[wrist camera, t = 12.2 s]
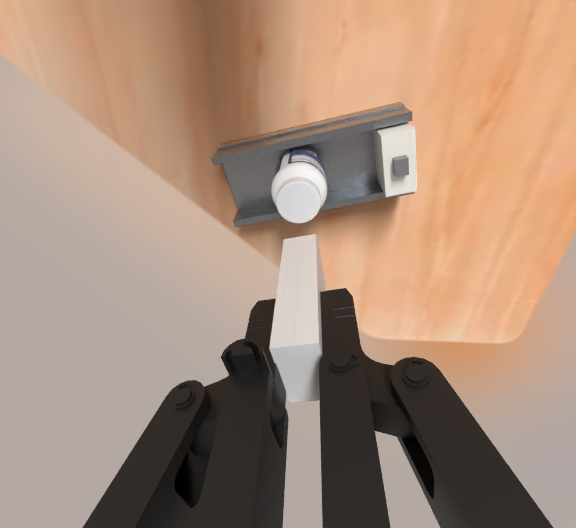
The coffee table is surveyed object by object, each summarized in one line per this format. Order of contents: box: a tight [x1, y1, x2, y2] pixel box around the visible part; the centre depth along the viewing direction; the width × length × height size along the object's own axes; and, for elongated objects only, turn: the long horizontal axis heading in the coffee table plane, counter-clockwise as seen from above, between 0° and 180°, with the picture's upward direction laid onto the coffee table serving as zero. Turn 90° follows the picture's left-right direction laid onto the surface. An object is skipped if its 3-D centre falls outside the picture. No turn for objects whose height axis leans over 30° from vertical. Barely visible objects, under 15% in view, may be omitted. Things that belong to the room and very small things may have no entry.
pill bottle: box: [271, 146, 327, 223], centre depth 34 cm, size 5×5×10 cm
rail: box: [211, 102, 415, 227], centre depth 37 cm, size 8×20×5 cm, turn 103°
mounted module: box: [373, 122, 417, 197], centre depth 33 cm, size 6×3×6 cm, turn 13°
